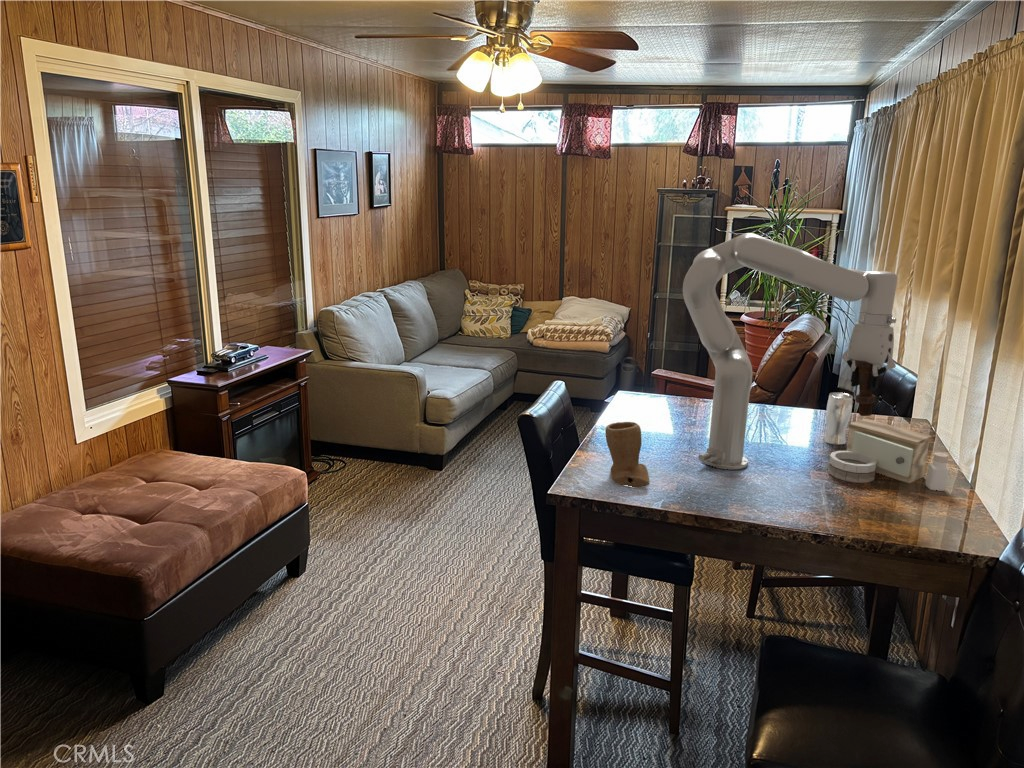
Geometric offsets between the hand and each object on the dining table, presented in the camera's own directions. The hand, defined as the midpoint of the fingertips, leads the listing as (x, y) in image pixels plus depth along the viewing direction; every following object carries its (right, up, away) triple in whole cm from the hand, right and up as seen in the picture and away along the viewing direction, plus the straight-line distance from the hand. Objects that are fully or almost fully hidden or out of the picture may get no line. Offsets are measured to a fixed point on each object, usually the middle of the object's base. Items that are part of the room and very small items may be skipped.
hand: (863, 387), depth 193 cm
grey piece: (+1, -22, +3) cm, 22 cm away
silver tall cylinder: (+7, -17, +33) cm, 38 cm away
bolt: (+1, -8, +1) cm, 8 cm away
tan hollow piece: (-63, -25, +1) cm, 68 cm away
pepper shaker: (+18, -27, -2) cm, 32 cm away
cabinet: (+6, -24, +7) cm, 26 cm away
